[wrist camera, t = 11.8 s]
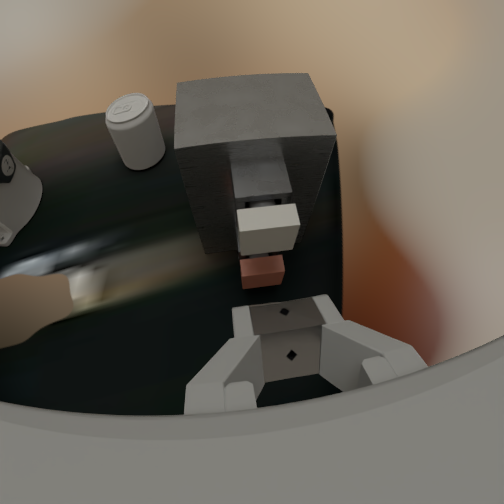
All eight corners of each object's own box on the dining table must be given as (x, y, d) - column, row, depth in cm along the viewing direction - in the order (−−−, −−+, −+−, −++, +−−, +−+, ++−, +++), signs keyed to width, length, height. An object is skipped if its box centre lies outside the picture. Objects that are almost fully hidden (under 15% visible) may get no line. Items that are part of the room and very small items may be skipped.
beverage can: (165, 167, 51) (149, 117, 40) (122, 176, 50) (99, 129, 39) (166, 135, 54) (152, 86, 43) (126, 144, 53) (107, 98, 42)
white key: (241, 255, 28) (239, 231, 24) (234, 204, 31) (232, 174, 26) (292, 249, 29) (300, 224, 24) (281, 199, 31) (286, 169, 26)
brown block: (242, 289, 39) (242, 276, 34) (237, 248, 41) (236, 231, 36) (280, 284, 39) (285, 271, 34) (273, 244, 41) (276, 226, 37)
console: (207, 280, 43) (173, 186, 23) (201, 196, 48) (177, 83, 28) (306, 267, 44) (351, 169, 23) (288, 186, 49) (307, 73, 29)
